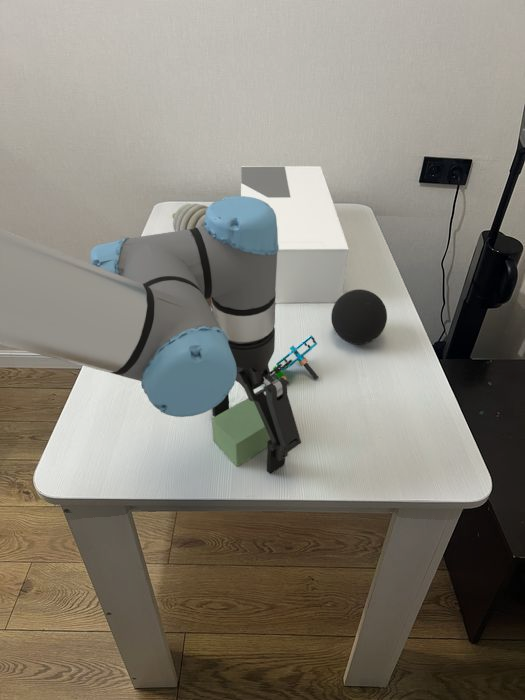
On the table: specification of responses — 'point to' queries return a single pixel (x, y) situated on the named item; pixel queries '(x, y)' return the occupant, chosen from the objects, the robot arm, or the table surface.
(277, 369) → the stick construction toy
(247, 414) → the green rectangular block
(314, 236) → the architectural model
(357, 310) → the speaker
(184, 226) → the toy sheep
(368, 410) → the table surface
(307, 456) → the table surface
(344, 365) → the table surface
